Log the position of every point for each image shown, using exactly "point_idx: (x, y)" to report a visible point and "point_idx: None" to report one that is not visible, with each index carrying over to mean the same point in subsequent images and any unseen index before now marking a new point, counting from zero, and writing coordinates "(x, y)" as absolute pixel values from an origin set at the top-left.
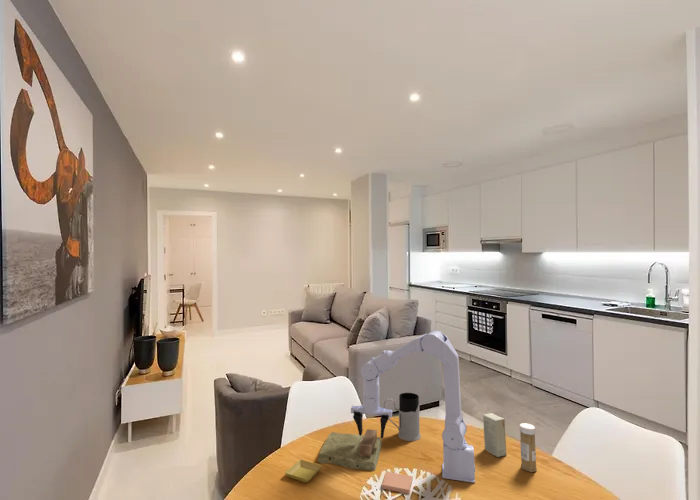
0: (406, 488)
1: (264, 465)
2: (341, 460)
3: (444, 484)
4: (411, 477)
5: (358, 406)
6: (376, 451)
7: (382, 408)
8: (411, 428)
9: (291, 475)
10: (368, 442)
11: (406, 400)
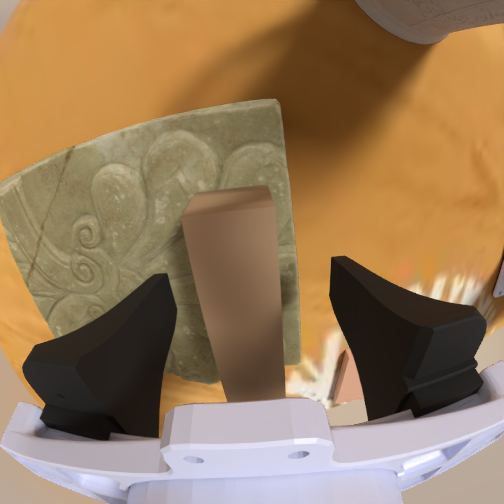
0: None
1: (19, 377)
2: None
3: (485, 314)
4: None
5: (47, 462)
6: (295, 298)
7: (448, 438)
8: (467, 27)
9: None
10: (264, 377)
11: None
